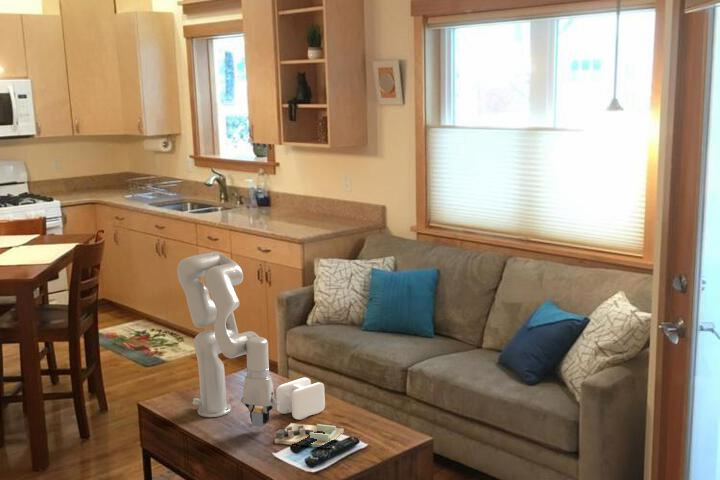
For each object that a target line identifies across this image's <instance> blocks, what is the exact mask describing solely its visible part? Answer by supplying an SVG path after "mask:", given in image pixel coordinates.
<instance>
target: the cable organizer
mask: <svg viewBox="0 0 720 480" xmlns="http://www.w3.org/2000/svg"><path fill="white" fill-rule="evenodd" d="M275 392H276V393H275V394H276V401H277V403H278V405H277V406H276V411H277V412H278V413H279V414H282V415H283V414H285V415H286V414H290V413H291V415H292V417H293V419H296V420H299V421H301V420H304V419H306V418H308V417H310V416H312V415H314V416H315V415H317V414H319V413H321V412H323V411H324V409H325V407H326V399H325V397H326V396H325V385H324V383H323V382H315V383H312V382H311V379H310V378H308V377H306V376H305V377H301V378H297V379H294V380H292V381H291V380H290V381H289V382H286V383H283V384H280V385H278V386H277V388H276V389H275Z"/></svg>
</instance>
